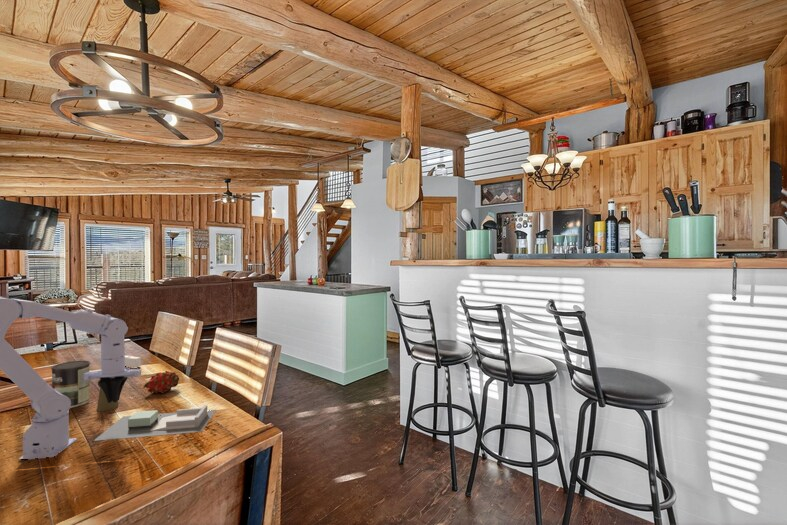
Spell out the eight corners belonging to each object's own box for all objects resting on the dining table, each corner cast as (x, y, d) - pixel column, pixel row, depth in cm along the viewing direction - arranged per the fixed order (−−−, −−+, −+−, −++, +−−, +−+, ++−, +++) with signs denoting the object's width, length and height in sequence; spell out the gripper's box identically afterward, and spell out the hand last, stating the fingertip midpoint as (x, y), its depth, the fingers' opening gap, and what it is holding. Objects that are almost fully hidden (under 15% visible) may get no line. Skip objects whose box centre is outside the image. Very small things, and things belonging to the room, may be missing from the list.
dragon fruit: (182, 392, 145) (146, 404, 138) (177, 376, 150) (142, 386, 143) (181, 379, 140) (144, 391, 133) (176, 363, 145) (140, 373, 138)
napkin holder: (111, 367, 174) (111, 355, 174) (140, 362, 182) (140, 351, 182) (115, 375, 163) (115, 362, 163) (145, 369, 171) (145, 357, 171)
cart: (151, 428, 111) (151, 417, 111) (127, 430, 110) (126, 419, 110) (159, 420, 117) (159, 410, 117) (136, 422, 115) (136, 411, 115)
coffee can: (59, 412, 123) (59, 370, 123) (46, 406, 128) (45, 366, 128) (95, 401, 132) (95, 362, 132) (82, 396, 137) (81, 359, 137)
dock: (201, 434, 109) (201, 421, 109) (93, 443, 104) (93, 430, 104) (216, 412, 125) (216, 400, 125) (123, 419, 119) (123, 407, 119)
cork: (106, 412, 123) (106, 380, 123) (92, 411, 124) (91, 379, 124) (123, 405, 129) (122, 374, 129) (109, 404, 130) (108, 373, 130)
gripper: (145, 352, 117) (146, 394, 117) (94, 354, 114) (94, 397, 114) (134, 358, 110) (135, 403, 110) (79, 361, 107) (79, 407, 107)
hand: (113, 401), depth 112 cm, fingers closed
